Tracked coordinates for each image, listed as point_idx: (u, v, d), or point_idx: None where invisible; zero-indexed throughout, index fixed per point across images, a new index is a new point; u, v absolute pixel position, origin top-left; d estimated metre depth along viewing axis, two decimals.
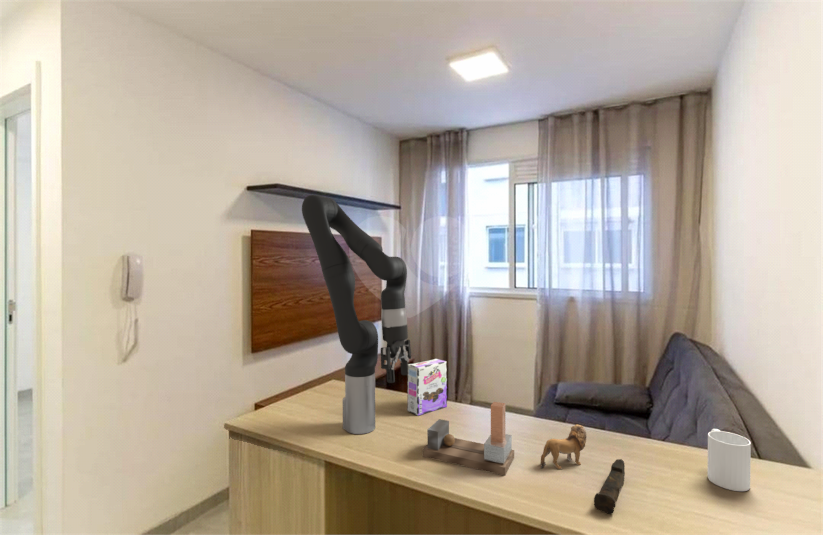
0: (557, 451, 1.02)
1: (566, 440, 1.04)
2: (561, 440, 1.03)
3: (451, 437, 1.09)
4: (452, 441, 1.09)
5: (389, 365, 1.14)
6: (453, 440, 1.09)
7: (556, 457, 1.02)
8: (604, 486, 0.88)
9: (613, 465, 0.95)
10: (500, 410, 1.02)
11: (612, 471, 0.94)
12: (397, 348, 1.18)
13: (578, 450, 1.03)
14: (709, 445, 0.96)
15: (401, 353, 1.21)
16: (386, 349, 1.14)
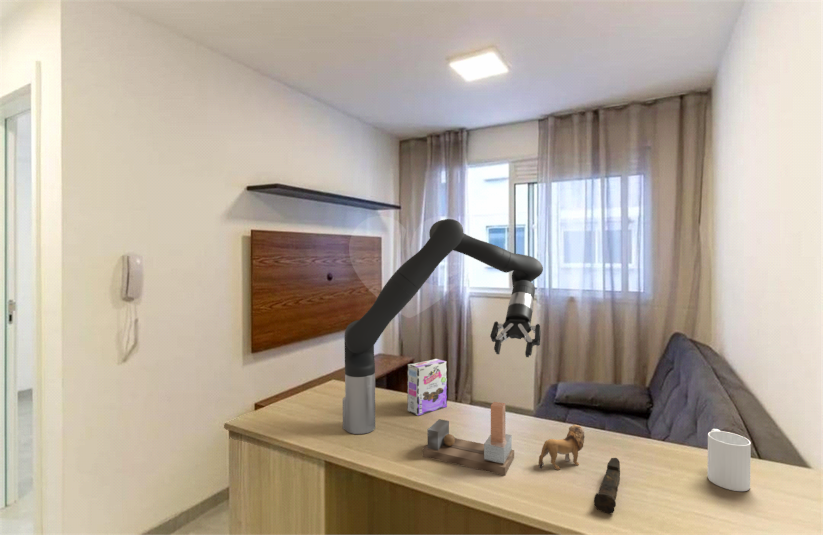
0: (555, 451, 1.02)
1: (564, 440, 1.03)
2: (559, 440, 1.03)
3: (451, 437, 1.09)
4: (452, 441, 1.09)
5: None
6: (453, 440, 1.09)
7: (554, 457, 1.02)
8: (603, 485, 0.88)
9: (609, 464, 0.96)
10: (500, 410, 1.02)
11: (608, 470, 0.94)
12: None
13: (576, 450, 1.03)
14: (709, 445, 0.96)
15: None
16: (540, 329, 1.21)
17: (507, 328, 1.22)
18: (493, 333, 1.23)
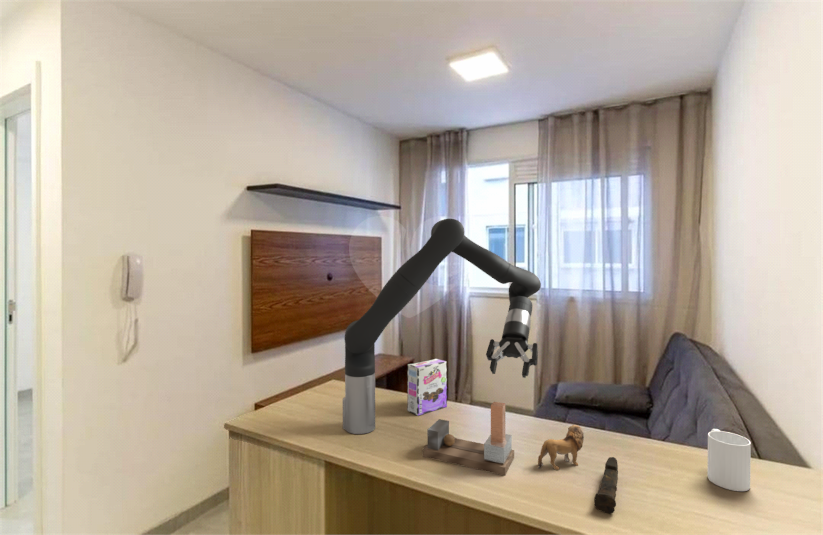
0: (554, 452, 1.01)
1: (563, 440, 1.03)
2: (558, 440, 1.03)
3: (451, 437, 1.09)
4: (452, 441, 1.09)
5: None
6: (453, 440, 1.09)
7: (553, 458, 1.01)
8: (602, 485, 0.88)
9: (607, 463, 0.96)
10: (500, 410, 1.02)
11: (607, 469, 0.95)
12: None
13: (575, 450, 1.03)
14: (709, 445, 0.96)
15: None
16: (537, 348, 1.17)
17: (503, 347, 1.19)
18: (488, 351, 1.20)
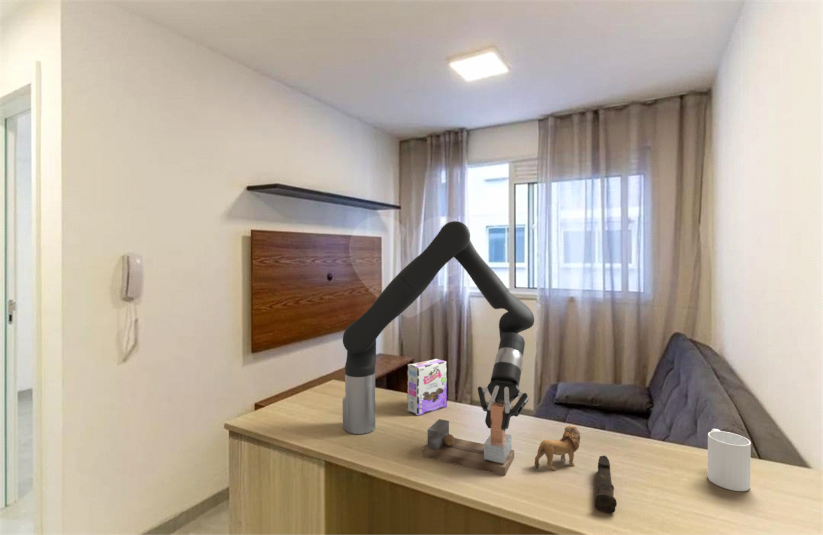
0: (551, 452, 1.01)
1: (560, 441, 1.03)
2: (555, 441, 1.03)
3: (451, 437, 1.09)
4: (452, 441, 1.09)
5: None
6: (453, 440, 1.09)
7: (550, 458, 1.01)
8: (600, 485, 0.88)
9: (600, 462, 0.97)
10: (500, 410, 1.02)
11: (600, 468, 0.95)
12: None
13: (572, 451, 1.03)
14: (709, 445, 0.96)
15: None
16: (527, 399, 1.06)
17: (494, 393, 1.07)
18: (482, 401, 1.07)
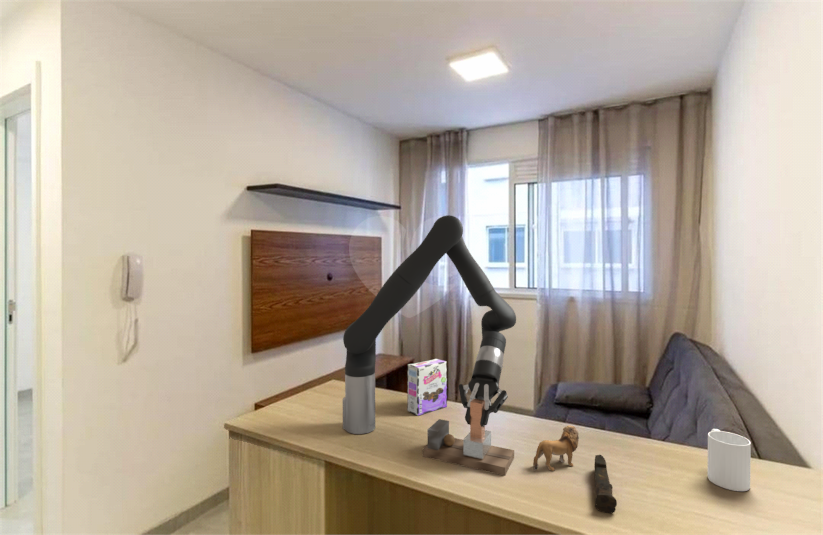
0: (550, 453, 1.01)
1: (559, 441, 1.03)
2: (554, 441, 1.03)
3: (451, 437, 1.09)
4: (452, 441, 1.09)
5: None
6: (453, 440, 1.09)
7: (549, 459, 1.01)
8: (599, 485, 0.88)
9: (597, 462, 0.97)
10: (480, 407, 1.05)
11: (597, 468, 0.95)
12: None
13: (571, 451, 1.03)
14: (709, 445, 0.96)
15: None
16: (507, 396, 1.08)
17: (474, 390, 1.10)
18: (463, 398, 1.09)
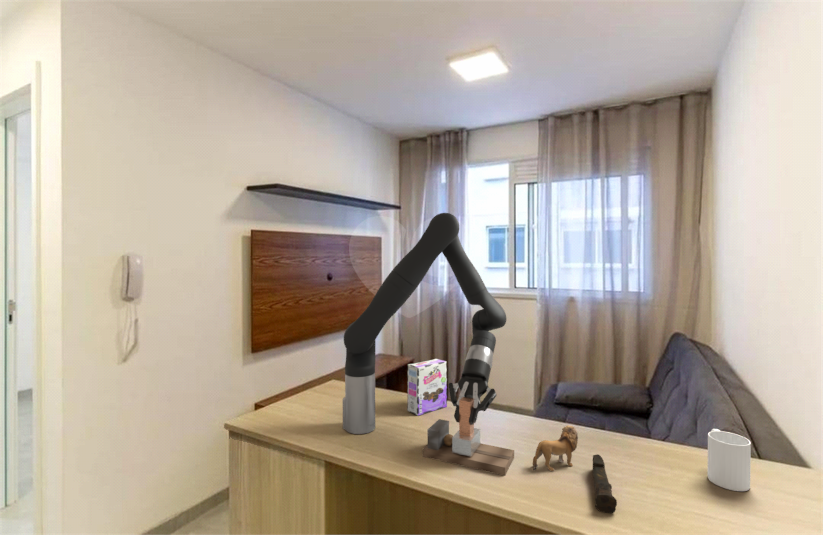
0: (549, 453, 1.01)
1: (558, 441, 1.03)
2: (553, 441, 1.03)
3: (451, 437, 1.09)
4: None
5: None
6: None
7: (548, 459, 1.01)
8: (599, 485, 0.88)
9: (595, 461, 0.97)
10: (468, 405, 1.06)
11: (596, 468, 0.95)
12: None
13: (570, 451, 1.03)
14: (709, 445, 0.96)
15: None
16: (495, 394, 1.09)
17: (464, 388, 1.11)
18: (452, 397, 1.11)
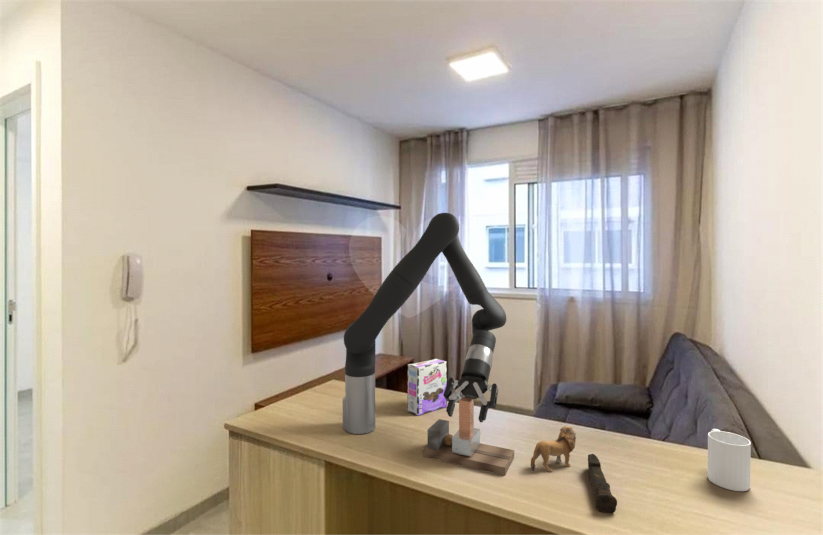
0: (547, 453, 1.01)
1: (556, 442, 1.03)
2: (551, 442, 1.02)
3: (451, 437, 1.09)
4: None
5: None
6: None
7: (546, 459, 1.01)
8: (598, 485, 0.88)
9: (591, 461, 0.97)
10: (468, 405, 1.06)
11: (592, 467, 0.96)
12: None
13: (568, 452, 1.02)
14: (709, 445, 0.96)
15: None
16: (497, 388, 1.10)
17: (462, 387, 1.11)
18: (446, 392, 1.13)
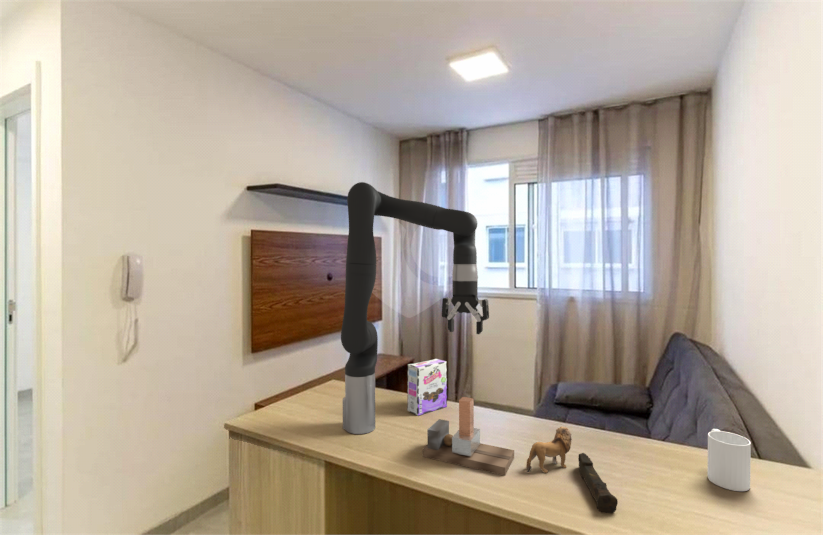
0: (543, 455, 1.00)
1: (552, 443, 1.02)
2: (547, 443, 1.02)
3: (451, 437, 1.09)
4: None
5: None
6: None
7: (542, 461, 1.00)
8: (596, 485, 0.88)
9: (583, 461, 0.97)
10: (468, 405, 1.06)
11: (586, 467, 0.96)
12: None
13: (564, 453, 1.02)
14: (709, 445, 0.96)
15: None
16: (487, 300, 1.21)
17: (455, 307, 1.23)
18: (443, 312, 1.25)
